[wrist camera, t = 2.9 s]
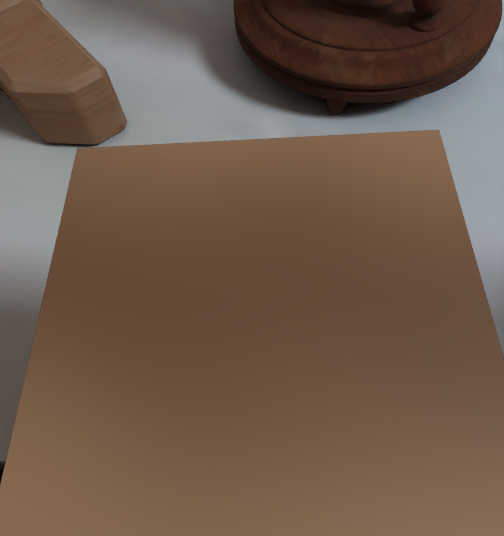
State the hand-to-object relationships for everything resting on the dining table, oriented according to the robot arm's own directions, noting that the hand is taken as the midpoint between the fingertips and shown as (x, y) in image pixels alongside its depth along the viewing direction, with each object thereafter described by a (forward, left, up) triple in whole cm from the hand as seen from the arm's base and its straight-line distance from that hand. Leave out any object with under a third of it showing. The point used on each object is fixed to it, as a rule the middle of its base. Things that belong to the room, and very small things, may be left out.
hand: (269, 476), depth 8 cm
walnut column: (+1, +1, -9) cm, 9 cm away
